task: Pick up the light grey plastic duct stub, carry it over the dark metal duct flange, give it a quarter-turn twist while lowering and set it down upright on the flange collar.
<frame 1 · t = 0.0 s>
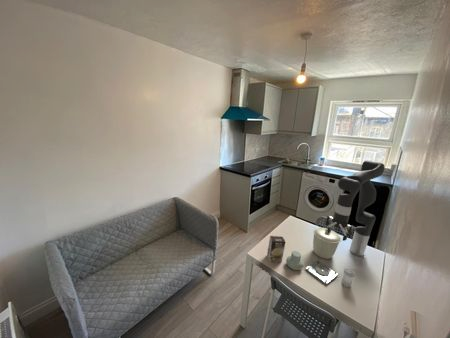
hand: (336, 236, 114), 29 cm above the table, fingers open, 8 cm apart
duct stub: (346, 284, 117), on the table
canister: (322, 254, 143), on the table
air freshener: (294, 266, 128), on the table
coffee box: (274, 258, 134), on the table
duct flange: (321, 272, 124), on the table
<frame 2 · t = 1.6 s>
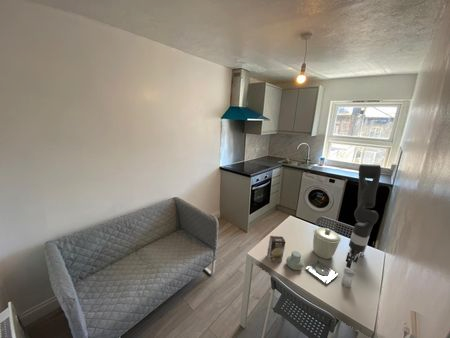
hand: (351, 264, 113), 14 cm above the table, fingers open, 8 cm apart
nothing on the table moved.
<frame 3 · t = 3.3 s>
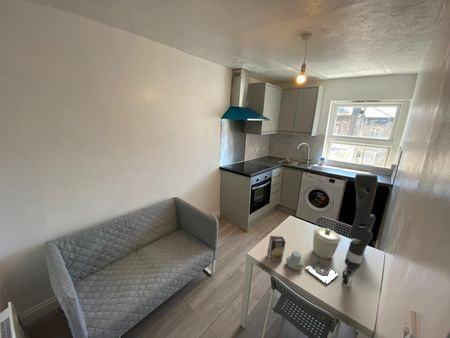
hand: (346, 281, 116), 2 cm above the table, fingers closed on duct stub, 5 cm apart
duct stub: (346, 284, 117), on the table, touching gripper
everything else where it was.
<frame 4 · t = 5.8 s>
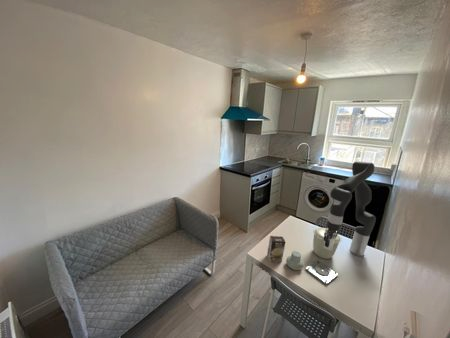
hand: (328, 244, 119), 21 cm above the table, fingers closed on duct stub, 5 cm apart
duct stub: (328, 247, 119), point 19 cm above the table, touching gripper
everything else where it was.
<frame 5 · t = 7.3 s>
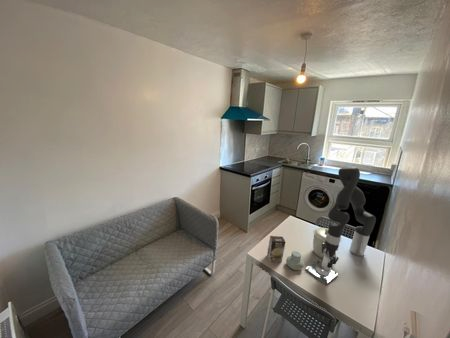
hand: (326, 263, 121), 9 cm above the table, fingers closed on duct stub, 5 cm apart
duct stub: (325, 266, 121), point 7 cm above the table, touching gripper
everything else where it was.
when the fingers open (5 cm above the table, at t = 8.3 s): duct stub stays where it is, resting on duct flange.
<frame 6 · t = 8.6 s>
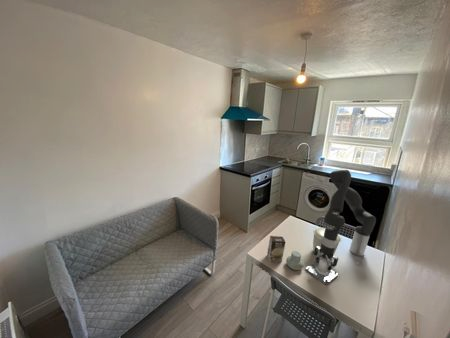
hand: (323, 265, 123), 6 cm above the table, fingers open, 7 cm apart
duct stub: (322, 269, 124), point 2 cm above the table, touching duct flange
everything else where it was.
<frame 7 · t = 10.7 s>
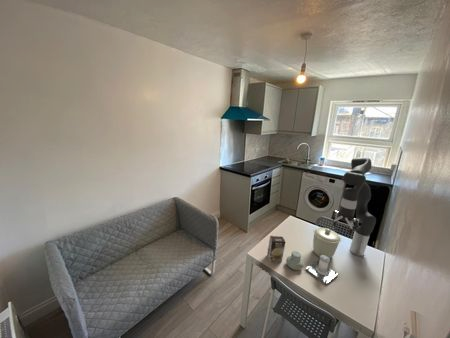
hand: (342, 230, 116), 32 cm above the table, fingers open, 8 cm apart
nothing on the table moved.
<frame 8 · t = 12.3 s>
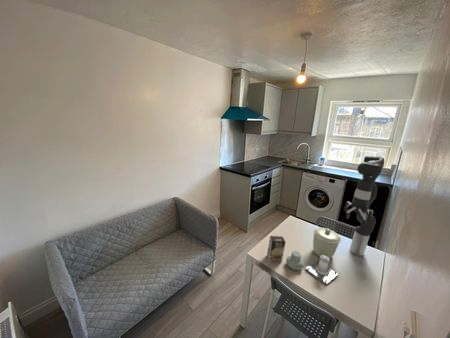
hand: (354, 221, 115), 38 cm above the table, fingers open, 8 cm apart
nothing on the table moved.
at the end: duct stub inside the target area on the duct flange (0.1 cm from its centre), point 2.3 cm above the duct flange's base; duct stub tilted 0°; the gripper is holding nothing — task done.
